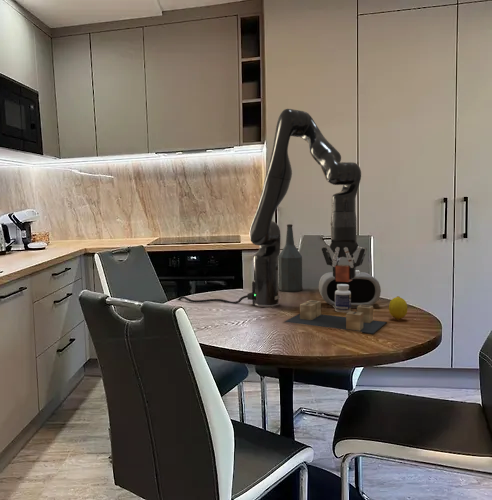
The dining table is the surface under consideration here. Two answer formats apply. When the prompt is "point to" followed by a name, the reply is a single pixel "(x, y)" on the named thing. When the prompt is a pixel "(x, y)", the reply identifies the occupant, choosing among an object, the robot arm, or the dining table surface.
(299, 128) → the robot arm
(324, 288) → the alarm clock
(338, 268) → the red block
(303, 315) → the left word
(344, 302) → the pill bottle
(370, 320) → the letter block row
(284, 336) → the dining table surface
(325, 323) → the word mat
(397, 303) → the lemon
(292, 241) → the bottle
